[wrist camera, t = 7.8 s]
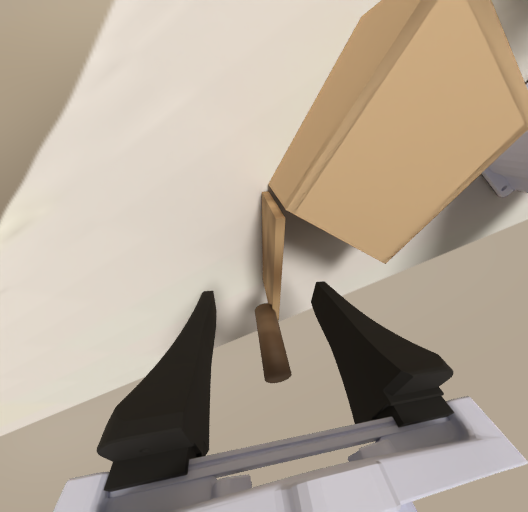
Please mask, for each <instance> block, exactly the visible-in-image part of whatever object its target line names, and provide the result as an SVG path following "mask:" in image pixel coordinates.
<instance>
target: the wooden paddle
mask: <svg viewBox="0 0 528 512" xmlns="http://www.w3.org/2000/svg"><path fill="white" fill-rule="evenodd" d="M284 233H285V217H284V215H283V213H282V212H281V210H280V209H279V207H278V205H277V204H276V202H275V201H274V199H273V197H272V196H271V194H270V193H269V192H262V254H263V283H264V287H265V291H266V296H267V300H268V303H265V304H261V305H259V306H258V307H257V308H256V309H255V316H256V322H257V329H258V336H259V343H260V350H261V357H262V363H263V370H264V377H265V381H266V382H268V383H278V382H282V381H284V380H286V379H288V378H289V377H290V376H291V371H290V367H289V362H288V359H287V355H286V351H285V347H284V343H283V340H282V335H281V331H280V327H279V323H278V320H279V307H280V292H281V277H282V262H283V247H284Z"/></svg>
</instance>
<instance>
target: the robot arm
mask: <svg viewBox="0 0 528 512" xmlns="http://www.w3.org/2000/svg"><path fill="white" fill-rule="evenodd" d="M526 87H527V89H528V83H527V84H526ZM482 174H483V176H484V177H485V178H486V180H487V181H488V183H489V184H490V185H491V187H492V188H493V189H494V191H495V192H496V193H497V195H498V196H499V197H506V196H508V195H509V194H510V193H512V192H513V191H514V190H517V191H522V192H526V193H528V130H527V131H526V132H525V133H524V134H523V135H522V136H521V137H520V138H518V139H517V140H516V141H515V142H514V143H513V144H512V145H511V146H510V147H509V148H508V149H507V150H506V151H505V152H504V153H503V154H501V155H500V156H499V157H498V158H497V159H496V160H495V161H494V162H493V163H492V164H491V165H490V166H489V167H488V168H487V169H486V170H484V171H483V172H482ZM311 303H312V306H313V309H314V312H315V315H316V317H317V319H318V322H319V324H320V326H321V328H322V330H323V332H324V334H325V336H326V338H327V340H328V342H329V345H330V347H331V349H332V352H333V355H334V357H335V360H336V363H337V366H338V369H339V372H340V375H341V377H342V380H343V384H344V387H345V390H346V393H347V397H348V400H349V404H350V407H351V411H352V414H353V419H354V422H355V424H354V425H350V426H345V427H340V428H335V429H330V430H326V431H321V432H316V433H312V434H307V435H302V436H298V437H293V438H288V439H283V440H279V441H274V442H269V443H265V444H260V445H255V446H250V447H246V448H241V449H236V450H231V451H227V452H222V453H217V454H213V455H208V456H205V455H206V454H207V452H208V450H209V414H210V379H211V363H212V354H213V346H214V339H215V331H216V305H215V299H214V293H213V291H204V292H203V293H202V294H201V297H200V299H199V301H198V303H197V305H196V307H195V309H194V311H193V313H192V315H191V317H190V318H189V320H188V322H187V323H186V325H185V327H184V328H183V330H182V331H181V333H180V334H179V336H178V337H177V339H176V340H175V342H174V343H173V344H172V346H171V347H170V348H169V350H168V351H167V352H166V353H165V355H164V356H163V357H162V358H161V360H160V361H159V362H158V363H157V364H156V366H155V367H154V368H153V369H152V370H151V371H150V372H149V373H148V375H147V376H146V377H145V378H144V379H143V380H142V381H141V382H140V383H139V384H138V385H137V387H136V388H134V389H133V390H132V392H131V393H129V394H128V396H126V398H124V399H123V400H122V401H121V402H120V403H119V404H118V405H117V406H116V408H115V409H114V412H113V413H112V415H111V417H110V419H109V421H108V423H107V425H106V428H105V430H104V432H103V435H102V437H101V440H100V443H99V445H98V447H97V453H98V454H99V455H100V456H102V457H104V458H107V459H108V460H111V461H113V464H112V467H111V470H110V472H101V473H96V474H91V475H86V476H81V477H76V478H71V479H70V480H68V481H67V482H66V484H65V486H64V489H63V491H62V493H61V495H60V497H59V500H58V502H57V504H56V506H55V508H54V511H53V512H417V510H416V508H415V506H414V504H413V502H412V501H415V500H418V499H421V498H424V497H427V496H429V495H433V494H436V493H439V492H442V491H444V490H448V489H451V488H453V487H457V486H460V485H463V484H465V483H469V482H471V481H475V480H478V479H481V478H484V477H487V476H490V475H492V474H496V473H499V472H502V471H505V470H509V469H512V468H515V467H519V466H522V465H525V464H528V462H527V460H526V459H525V458H524V457H523V456H522V454H521V453H520V452H518V450H517V449H516V448H515V447H514V446H513V444H512V443H511V442H510V441H509V440H508V439H507V438H506V437H505V435H504V434H503V433H502V432H501V431H500V430H499V429H498V428H497V427H496V425H495V424H494V423H493V422H492V421H491V420H490V419H489V418H488V416H487V415H486V414H485V413H484V412H483V411H482V410H481V409H480V407H478V405H477V404H476V403H475V402H474V401H473V400H472V398H470V397H469V396H466V397H461V398H457V399H452V400H449V401H445V400H444V399H443V398H442V395H443V394H444V393H443V392H442V390H441V389H440V388H439V386H440V385H442V384H443V383H444V382H446V381H447V380H448V379H450V377H452V375H453V370H452V369H451V368H450V367H449V366H448V365H447V364H446V363H445V361H444V360H443V359H442V358H441V357H440V356H439V355H438V354H436V353H434V352H431V351H429V350H427V349H425V348H422V347H420V346H418V345H416V344H414V343H412V342H410V341H408V340H406V339H404V338H402V337H400V336H398V335H396V334H395V333H393V332H391V331H390V330H388V329H386V328H384V327H383V326H381V325H379V324H378V323H376V322H375V321H373V320H372V319H370V318H369V317H367V316H366V315H365V314H363V313H362V312H360V311H359V310H358V309H357V308H355V307H354V306H353V305H351V304H350V303H349V302H348V301H346V300H345V299H344V298H343V297H342V296H341V295H339V294H338V293H337V292H336V291H335V290H334V289H332V288H331V287H330V286H329V285H328V284H327V283H326V282H316V285H315V289H314V292H313V296H312V300H311ZM373 441H376V442H375V443H373V444H370V445H367V446H364V447H361V448H360V449H359V451H357V452H356V453H354V454H352V455H351V456H349V457H348V460H349V462H347V463H343V464H338V465H334V466H329V467H326V468H321V469H318V470H313V471H310V472H306V473H302V474H299V475H295V476H291V477H288V478H284V479H281V480H277V481H274V482H270V483H267V484H263V485H260V486H256V487H253V488H252V482H251V480H250V476H249V475H240V476H232V477H226V478H222V479H219V480H217V479H216V478H218V477H222V476H226V475H230V474H235V473H239V472H244V471H248V470H252V469H257V468H261V467H265V466H270V465H274V464H278V463H283V462H287V461H291V460H295V459H300V458H304V457H308V456H313V455H317V454H321V453H326V452H330V451H335V450H338V449H343V448H348V447H352V446H356V445H361V444H365V443H369V442H373Z"/></svg>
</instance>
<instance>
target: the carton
mask: <svg viewBox="0 0 528 512" xmlns="http://www.w3.org/2000/svg"><path fill="white" fill-rule="evenodd" d="M527 130H528V89H527V87H526V85H525V82H524V80H523V77H522V75H521V72H520V70H519V67H518V65H517V62H516V60H515V58H514V55H513V53H512V50H511V48H510V45H509V43H508V40H507V38H506V35H505V33H504V31H503V28H502V26H501V23H500V21H499V18H498V16H497V13H496V11H495V8H494V6H493V3H492V1H491V0H381V1H380V2H379V3H378V4H376V5H375V6H374V7H373V8H372V9H370V10H369V11H368V12H367V13H365V14H364V15H363V16H362V17H361V19H360V20H359V22H358V24H357V26H356V28H355V29H354V31H353V33H352V35H351V37H350V38H349V40H348V42H347V44H346V46H345V47H344V49H343V51H342V53H341V55H340V56H339V58H338V60H337V62H336V64H335V65H334V67H333V69H332V71H331V73H330V74H329V76H328V78H327V80H326V82H325V83H324V85H323V87H322V89H321V91H320V92H319V94H318V96H317V98H316V100H315V101H314V103H313V105H312V107H311V109H310V110H309V112H308V114H307V116H306V117H305V119H304V121H303V123H302V125H301V126H300V128H299V130H298V132H297V134H296V135H295V137H294V139H293V141H292V143H291V144H290V146H289V148H288V150H287V152H286V153H285V155H284V157H283V159H282V161H281V162H280V164H279V166H278V168H277V170H276V171H275V173H274V175H273V177H272V179H271V180H270V182H269V184H268V185H269V186H270V187H271V189H272V190H273V192H274V193H275V195H276V196H277V198H278V199H279V200H280V202H281V203H282V205H283V206H284V208H285V209H286V210H287V211H289V212H291V213H292V214H294V215H296V216H298V217H300V218H302V219H304V220H305V221H307V222H309V223H311V224H313V225H315V226H316V227H318V228H320V229H322V230H324V231H326V232H328V233H329V234H331V235H333V236H335V237H337V238H339V239H340V240H342V241H344V242H346V243H348V244H350V245H351V246H353V247H355V248H357V249H359V250H361V251H363V252H364V253H366V254H368V255H370V256H372V257H374V258H375V259H377V260H379V261H381V262H383V263H385V264H386V263H387V262H388V261H389V260H390V259H391V258H392V257H393V256H394V255H395V254H396V253H397V252H398V251H399V250H401V249H402V248H403V247H404V246H405V245H406V244H407V243H408V242H409V241H410V240H411V239H412V238H413V237H414V236H415V235H416V234H418V233H419V232H420V231H421V230H422V229H423V228H424V227H425V226H426V225H427V224H428V223H429V222H430V221H431V220H432V219H433V218H435V217H436V216H437V215H438V214H439V213H440V212H441V211H442V210H443V209H444V208H445V207H446V206H447V205H448V204H449V203H450V202H452V201H453V200H454V199H455V198H456V197H457V196H458V195H459V194H460V193H461V192H462V191H463V190H464V189H465V188H466V187H467V186H469V185H470V184H471V183H472V182H473V181H474V180H475V179H476V178H477V177H478V176H479V175H480V174H481V173H482V172H483V171H484V170H486V169H487V168H488V167H489V166H490V165H491V164H492V163H493V162H494V161H495V160H496V159H497V158H498V157H499V156H500V155H501V154H503V153H504V152H505V151H506V150H507V149H508V148H509V147H510V146H511V145H512V144H513V143H514V142H515V141H516V140H517V139H518V138H520V137H521V136H522V135H523V134H524V133H525V132H526V131H527Z"/></svg>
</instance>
